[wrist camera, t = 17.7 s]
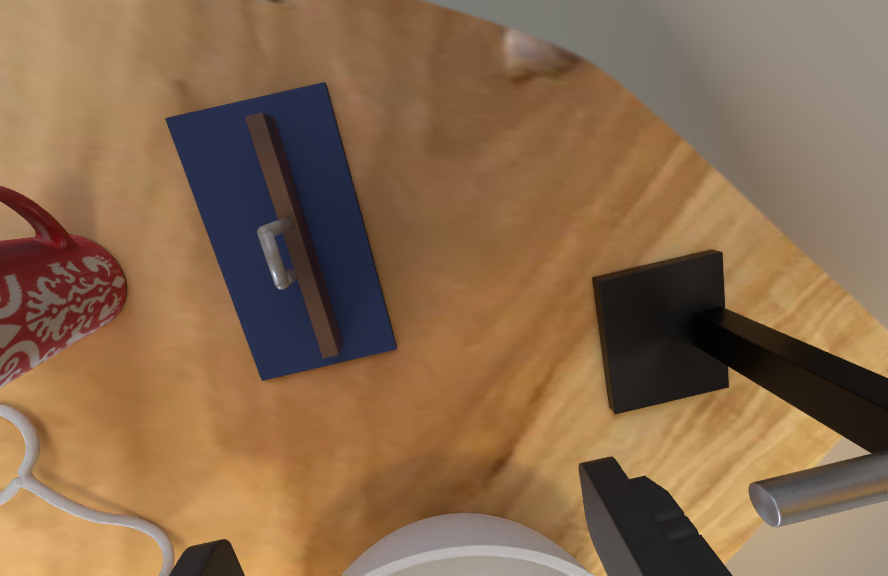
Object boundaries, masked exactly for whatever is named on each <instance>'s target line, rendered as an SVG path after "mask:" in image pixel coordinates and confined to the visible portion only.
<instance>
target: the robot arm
mask: <svg viewBox="0 0 888 576" xmlns="http://www.w3.org/2000/svg"><path fill="white" fill-rule="evenodd" d="M579 475H580V482H581V489H582V496H583V503H584V510H585V516H586V522H587V526H588V529H589V533H590V536H591V539H592V542H593V544H594V547H595V549H596V551H597V554H598V556H599V558H600V560H601V562H602V564H603V566H604V569H605V571H606V573H607V575H608V576H732V574H731V573H730V572H729V571H728V569H727V568H726V567H725V565H724V564H723V563H722V561H721V560H720V559H719V558H718V556H717V555H716V554H715V552H714V551H713V550H712V548H711V547H710V546H709V544H708V543H707V542H706V541H705V539H704V538H703V537H702V535H699V533H698V531H697V529H696V528H695V526H694V525H693V524H692V522H691V521H690V520H689V518H688V517H687V516H685V515H684V512H683V511H682V509H681V508H680V507H679V505H678V504H677V503H676V501H675V500H674V499H673V498H672V496H671V495H670V494H669V492H668V491H667V490H665V489H664V488H662V487H661V486H659V485H658V484H656V483H655V482H653V481H652V480H650V479H649V478H647V477H646V476H642V477H637V478H633V479H628V477H627V476H626V474H625V473H624V471H623V470H622V468H621V467H620V465H619V464H618V462H617V461H616V459H615V458H614V457H606V458H602V459H597V460H592V461H588V462H583V463H580V464H579ZM169 576H245V575H244V572H243V570H242V568H241V566H240V563H239V561H238V559H237V557H236V554H235V552H234V550H233V547H232V545H231V543H230V542H229V541H228V540H226V539H222V540H217V541H213V542H208V543H203V544H199V545H194V546H191V547H188V548H187V549H186V550H185V551H184V552H183V554H182V555H181V557H180V558H179V560H178V562H177V563H176V565H175V567H174V568H173V570H172V572H171V573H170V575H169Z"/></svg>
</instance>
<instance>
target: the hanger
mask: <svg viewBox="0 0 888 576" xmlns="http://www.w3.org/2000/svg"><path fill="white" fill-rule="evenodd" d="M245 119H246V122H247V126H248V129H249V132H250V135H251V138H252V141H253V144H254V147H255V150H256V153H257V156H258V159H259V162H260V166H261V169H262V172H263V175H264V178H265V181H266V184H267V187H268V190H269V193H270V196H271V199H272V202H273V206H274V209H275V212H276V215H277V218H278V220H277V221H275V222H272V223H269V224H266V225H263V226H261V227H259V229H258V231H257V234H258V237H259V240H260V243H261V246H262V249H263V251H264V254H265V257H266V260H267V263H268V266H269V269H270V272H271V275H272V278H273V281H274V284H275V286H276V287H277V288H278V289H285V288H287V287H288V286H289V285H290V284H291V283H292V282H294V281H295V280H296V278H297V279H298V282H299V286H300V289H301V292H302V295H303V298H304V301H305V304H306V307H307V310H308V313H309V316H310V319H311V322H312V326H313V329H314V332H315V335H316V338H317V341H318V344H319V347H320V350H321V353H322V356H323V358H327V357H331V356H335V355H339V352H340V350H341V348H342V345H343V339H342V336H341V333H340V329H339V326H338V323H337V320H336V316H335V313H334V310H333V307H332V303H331V300H330V297H329V294H328V290H327V287H326V284H325V281H324V277H323V274H322V271H321V268H320V264H319V261H318V258H317V255H316V251H315V248H314V245H313V242H312V238H311V235H310V232H309V229H308V225H307V222H306V219H305V216H304V212H303V209H302V206H301V203H300V199H299V196H298V193H297V190H296V186H295V183H294V180H293V177H292V173H291V170H290V167H289V164H288V160H287V157H286V154H285V151H284V147H283V144H282V141H281V138H280V134H279V131H278V128H277V125H276V121H275V118H274V117H272V116H269V115H267V114H264V113H259V114H254V115H250V116H246V117H245ZM281 233H283V236H284V239H285V242H286V246H287V249H288V252H289V255H290V258H291V261H292V264H293V267H294V270H295V271H294V270H292V269H288V270H286V271H285V268H284V265H283V262H282V259H281V256H280V253H279V250H278V247H277V244H276V241H275V238H274V236H276V235H278V234H281Z"/></svg>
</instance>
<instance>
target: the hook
mask: <svg viewBox="0 0 888 576" xmlns="http://www.w3.org/2000/svg"><path fill="white" fill-rule="evenodd" d="M0 416H2V417H4V418H6V419H8V420H10V421H11V422H12V423H14V424H15V425H16V426H17V428H18V429H19V430H20V432H21V433H22V435H23V437H24V440H25V444H26V453H25V457H24V460H23V462H22V464H21V466H20V468H19V470H18V475H19V478H15V479H13V480H12V481H11V482H10V483H9V485H8V486H7V487H6V489H5V490H4V491H3V492H2V493H1V494H0V505H1V504H3V503H5V502H7V501H8V500H9V499H11V498H12V497H13V496H14V495H15V494H16V493H17V491H18V490H19V489H20V488H21V487H23V488H26V489H28V490H29V491H31V492H33V493H34V494H36V495H37V496H39V497H40V498H42V499H44V500H45V501H47V502H48V503H50V504H52V505H54V506H55V507H57V508H59V509H61V510H63V511H66V512H68V513H70V514H73V515H75V516H78V517H80V518H83V519H86V520H89V521H92V522H96V523H102V524H112V525H121V526H127V527H132V528H135V529H137V530H140V531H142V532H144V533H146V534H148V535H150V536H151V537H153V538H154V539H155V540H156V541H157V543H158V544H159V546H160V547H161V550H162V553H163V566H162V570H161V572H160V574H159V576H169V575H170V573H171V572H172V570H173V567H174V561H175V553H174V548H173V545H172V543H171V540H170V539H169V537H168V536H167V534H166V533H165V532H164V531H163V530H162V529H161V528H159V527H158V526H157V525H155V524H153V523H151V522H149V521H147V520H144V519H141V518H139V517H134V516H129V515H123V514H114V513H106V512H101V511H98V510H94V509H91V508H89V507H86V506H84V505H82V504H79V503H77V502H75V501H73V500H70V499H68V498H66V497H65V496H63V495H61V494H59V493H58V492H56V491H54V490H53V489H51V488H50V487H48V486H47V485H45V484H43V483H42V482H40V481H39V480H38V479H36V477H35V476H34V475H33V474H32V469H33V467H34V465H35V463H36V461H37V458H38V455H39V451H40V441H39V436H38V433H37V431H36V429H35V427H34V425H33V424H32V422H31V421H30V420H29V419H28V418H27V417H26V416H25V415H24V414H23V413H21V412H20V411H18V410H16V409H15V408H12V407H10V406H7V405H2V404H0Z"/></svg>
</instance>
